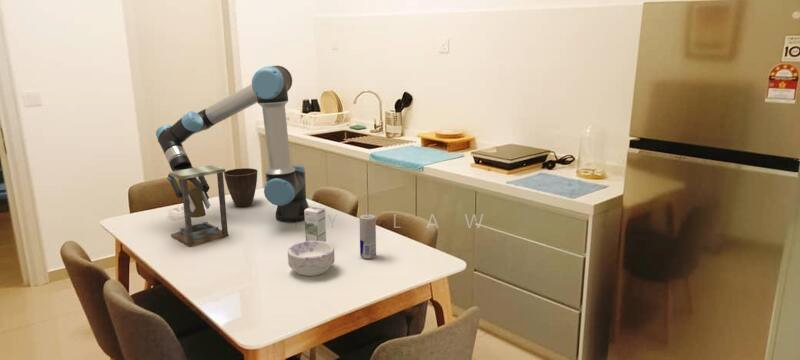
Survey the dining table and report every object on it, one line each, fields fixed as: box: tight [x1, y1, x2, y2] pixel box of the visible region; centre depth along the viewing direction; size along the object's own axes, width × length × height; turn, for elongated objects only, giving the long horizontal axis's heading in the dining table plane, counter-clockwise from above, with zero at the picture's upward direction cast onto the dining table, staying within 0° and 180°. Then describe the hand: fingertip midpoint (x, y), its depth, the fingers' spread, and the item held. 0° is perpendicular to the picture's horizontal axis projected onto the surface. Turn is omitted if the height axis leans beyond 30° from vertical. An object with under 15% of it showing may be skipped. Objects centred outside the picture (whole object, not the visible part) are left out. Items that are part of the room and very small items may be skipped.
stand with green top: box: [169, 164, 230, 248], centre depth 212 cm, size 17×16×27 cm
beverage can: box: [359, 213, 377, 260], centre depth 193 cm, size 6×6×15 cm
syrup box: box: [304, 205, 327, 242], centre depth 204 cm, size 6×6×14 cm
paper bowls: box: [287, 240, 336, 277], centre depth 183 cm, size 15×15×8 cm
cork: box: [188, 186, 206, 219], centre depth 212 cm, size 6×6×11 cm
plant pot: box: [223, 167, 258, 208], centre depth 255 cm, size 15×15×16 cm
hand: (201, 208), depth 210 cm, fingers closed on cork, 5 cm apart
